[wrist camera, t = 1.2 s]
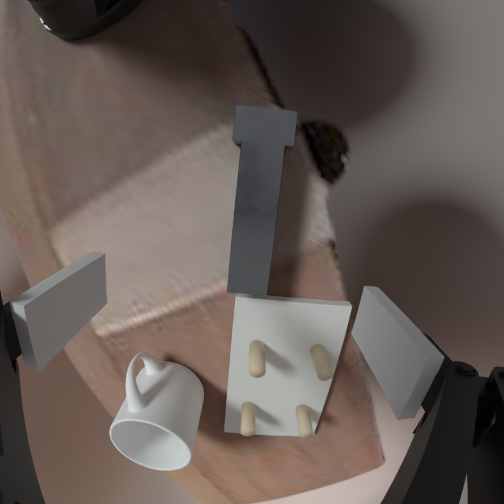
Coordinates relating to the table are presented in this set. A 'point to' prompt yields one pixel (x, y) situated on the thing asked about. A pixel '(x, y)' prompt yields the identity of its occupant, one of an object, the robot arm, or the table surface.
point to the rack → (282, 363)
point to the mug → (159, 414)
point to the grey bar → (257, 193)
